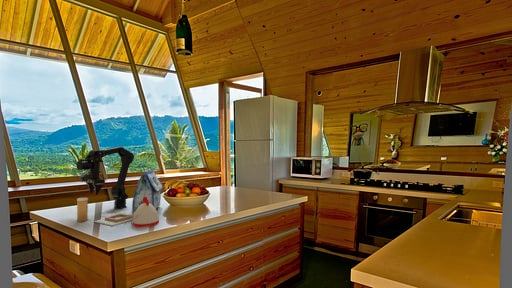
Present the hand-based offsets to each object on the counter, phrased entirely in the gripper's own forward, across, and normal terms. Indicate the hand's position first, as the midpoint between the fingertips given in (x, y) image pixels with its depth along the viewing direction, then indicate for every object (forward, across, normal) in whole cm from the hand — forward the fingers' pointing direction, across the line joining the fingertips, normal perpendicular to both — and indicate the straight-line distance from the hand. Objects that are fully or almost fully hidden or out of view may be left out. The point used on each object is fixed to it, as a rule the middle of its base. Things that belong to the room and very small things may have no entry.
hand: (93, 194), depth 181 cm
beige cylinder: (+14, +11, -9) cm, 20 cm away
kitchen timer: (+13, +44, +13) cm, 47 cm away
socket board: (+13, +25, +6) cm, 29 cm away
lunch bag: (+12, +15, +29) cm, 35 cm away
